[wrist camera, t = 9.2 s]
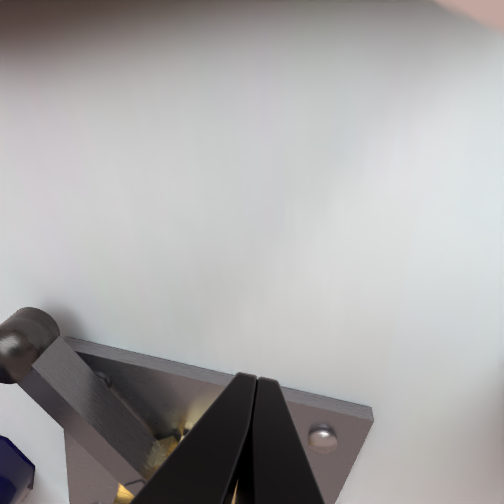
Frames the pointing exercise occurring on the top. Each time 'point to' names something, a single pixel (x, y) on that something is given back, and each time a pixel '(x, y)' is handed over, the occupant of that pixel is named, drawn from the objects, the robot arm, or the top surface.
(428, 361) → the top surface
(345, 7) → the top surface
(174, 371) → the flange plate
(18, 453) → the bottle
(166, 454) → the lever handle
